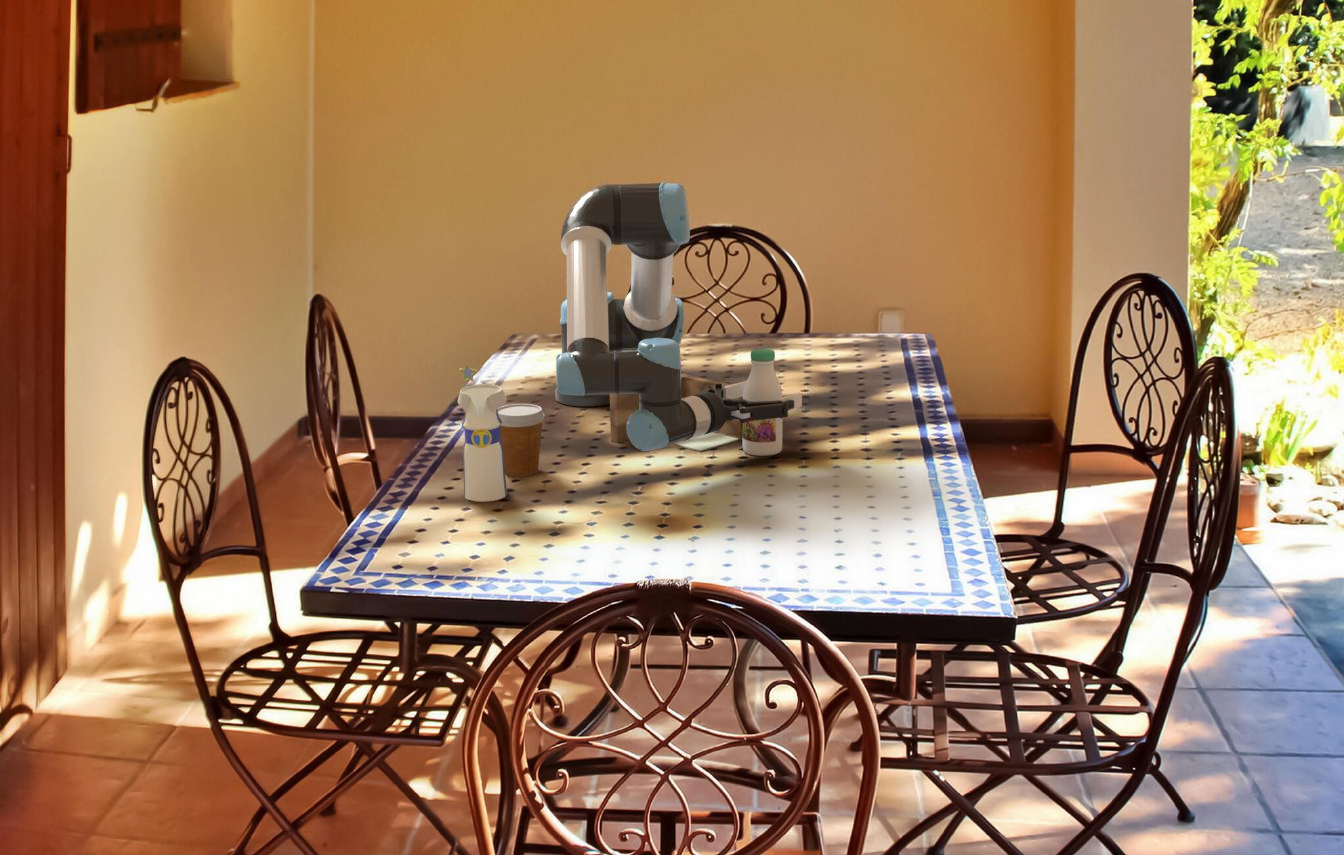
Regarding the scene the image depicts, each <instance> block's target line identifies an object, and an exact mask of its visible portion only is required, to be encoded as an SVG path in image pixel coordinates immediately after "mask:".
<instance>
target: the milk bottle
mask: <svg viewBox="0 0 1344 855" xmlns="http://www.w3.org/2000/svg"><path fill="white" fill-rule="evenodd" d="M775 361H776V353H775V350H774V349H771V348H770V349H769V348H757V349H753V350H751V351H750V363H751V369H750V372H749V375H748V377H747V379H746V380H745V381H746V384H745V387H744V391H743V396H742V399H744V400H746V402H758V401H777V399H778V398H781V397H783V392H782V387H781V384H780V381H779V378H778V376H777V374H776V371H775V366H774V363H775ZM783 418H784V417H783ZM783 418H781V419H780V418H773V419H764V420H754V421H749V422H745V423H742V450H743V452H744V453H746V454H747V455H748V454H749V455H750V456H751V455H752V456H761V457H762V456H763V457H764V456H765V457H766V456H768V457H769V456H774V455H777V454H779V453H781V452H782V450H783Z"/></svg>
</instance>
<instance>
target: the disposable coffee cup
mask: <svg viewBox="0 0 1344 855" xmlns="http://www.w3.org/2000/svg"><path fill="white" fill-rule="evenodd" d="M498 415H499V418H500V419H501V420H502V423H501V425H500V437H501V441H502V444H503V449H504V464H505V475H506V476H511V477H528V476H532V475H534V474H536V473H537V472H538V471H539V463H540V462H539V461H540V453H541V452H540V451H541V450H540V449H541V440H542V429H543V421H544V418H545V413H544V412H543V408H542V406H540V405H536V404H531V403H512V404H506V405H505V404H504V405H503V406H501V407H500V408H498Z"/></svg>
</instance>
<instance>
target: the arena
mask: <svg viewBox="0 0 1344 855" xmlns="http://www.w3.org/2000/svg"><path fill="white" fill-rule="evenodd" d="M718 383H720V384H722V388H723V387H725V386H729V385H732V384H733V383H727V382H723V381H718V380H714V379H709V378H704V377H701V376H695V375H691V374H686V373H681V399H682V398H685V397H689V396H694V395H697V394H699V393H700V392H701V391H702V390H704V389H705V388H706V387H708V386H711V387H713V389H715V388H716V384H718ZM741 398H742V397H739V398H735V399H732V400H742V399H741ZM722 399H723V398H722ZM741 408H742V404H739V411H740V409H741ZM637 410H639V394H610V404H609V411H610V412H609V418H610V419H609V420H610V423H609V424H610V441H611V442H613V443H616V444H618V443H622V442H625V441H630V439H629V437H628V434H627V422H628V420H629V416H630V415H631V414H632V413H634V412H636V411H637ZM741 424H742V423H741V422H740V419H733V420H731V421H726V422H725V423H724V425H723V427H722V428H721V429H720V430H718V431H715V432H712V433H709V434H705V435H701V436H698V437H695V438H691V439H690V441H689V442H687V441H681V442H678V443H675V444H672V445H673V446H676V447H681V448H685V449H689V450H691V451H696V452H700V453H702V452H705V451H707V450H711V449H714V448H718V447H720V446H724V445H727V444H730V443H733V442H737V441H739V438H737V437H735V436H738V435H741V434H742V432H741V427H742V426H741Z"/></svg>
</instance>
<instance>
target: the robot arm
mask: <svg viewBox="0 0 1344 855" xmlns="http://www.w3.org/2000/svg"><path fill="white" fill-rule="evenodd" d="M688 207H689V206H688V197H687V192H686V188H685V187H684V186H683V185H682V184H680V183H669V182H665V181H664V182H656V183H655V182H654V183H653V182H650V183H626V184H625V183H621V184H620V183H619V184H618V183H617V184H613V183H609V184H608V183H605V184H602V185H597V186H595V187H593V188H592V189H591V188H590V190H588V191H586V192H584V194H582V195H581V196H580V197H579V198H578V199H577V200H576V201H575V202H574V203H573V205H572V206H571V207H570V209H569V211H568V212H567V214H566V216H565V219H564V220H563V224H562V227H561V232H560V246H561V247H560V248H561V251H562V253H563V254H564V255H565V256H566V299H565V300H564V301H562V303H561V306H560V319H559V323H560V332H561V352H560V353H558V354H557V355H556V360H555V366H556V367H555V368H556V370H555V372H556V386H555V389H554V390H555V393H554V394H555V395H554V396H555V400H556V401H557V402H558V403H560V404H563V405H568V406H574V407H598V406H599V407H600V406H605V405H606V406H607V405H610V394H639V410H637V411H636V412H634V413H632V414H631V415H630V416H629V420H628V422H627V434H628V437H629V439H630V440H629V441H630V443H631V444H632V445H633V446H634V447H635V448H636V449H638V450H640V451H643V452H649V451H654V450H660V449H665V448H667V447H670V446H672V445H673V444H675V443H678V442H681V441H687V442H689V441H690V439H691V438H695V437H698V436H701V435H705V434H709V433H712V432H714V433H716V431H718V430H720V429H721V428H722V427H723V425H724V423H725V422H726V421H731V420H733V419H740V422H741V424H743V423H745V422H749V421H754V420H764V419H773V418H780V419H781V418H788V417H789V411H792V410H796V409H799V408H802V407H803V405H802V404H803V403H802V402H803V393H802V392H795V393H792V394H790V395H789V394H788V395H786V396H782V397H781V398H778V399H777V401H758V402H746V400H744V399H743V391H744V387H745V384H746V381H747V380H744V381H740V382H737V383H734V384H733V383H731V384H732V385H729V386H725V387H723V388H722V384H720V383H718V384H716V388H715V389H713V387H711V386H708V387H706V388H705V389H704V390H702V391H701V392H700V393H699V394H697V395H694V396H689V397H685V398H682V399H681V374H682V361H681V360H682V358H681V347H680V345H681V342H682V339H683V334H684V331H683V329H684V322H685V319H684V318H685V315H684V314H685V313H684V311H685V310H684V304H683V301H682V300H681V299H680V297H676V296H675V295H674V293H673V292H672V291H673V290H672V289H673V288H672V287H673V269H674V254H675V253H677V251H678V249H679V248H680V246H681V245H682V246H683V245H684V244H687V243H689V241H690V239H691V236H690V235H691V231H690V230H691V229H690V228H691V227H690V226H691V225H690V217H689V215H690V214H689V210H688V209H689V208H688ZM613 245H615V246H621V245H622V246H625V247H626V248H627V249H628V251H629V252H630V254H631V255H630V256H631V262H630V272H631V274H630V291H629V293H628V294H627V295H626V296H625V298H615V296H614V295H613V292H610V291H608V268H607V267H608V266H607V265H608V263H607V260H608V259H607V255H608V254H609V253H610V251H611V250H612V246H613ZM739 397H741V398H742V399H741V400H732V399H735V398H739ZM722 398H723V399H722ZM739 404H741V409H740V411H739Z"/></svg>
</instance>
